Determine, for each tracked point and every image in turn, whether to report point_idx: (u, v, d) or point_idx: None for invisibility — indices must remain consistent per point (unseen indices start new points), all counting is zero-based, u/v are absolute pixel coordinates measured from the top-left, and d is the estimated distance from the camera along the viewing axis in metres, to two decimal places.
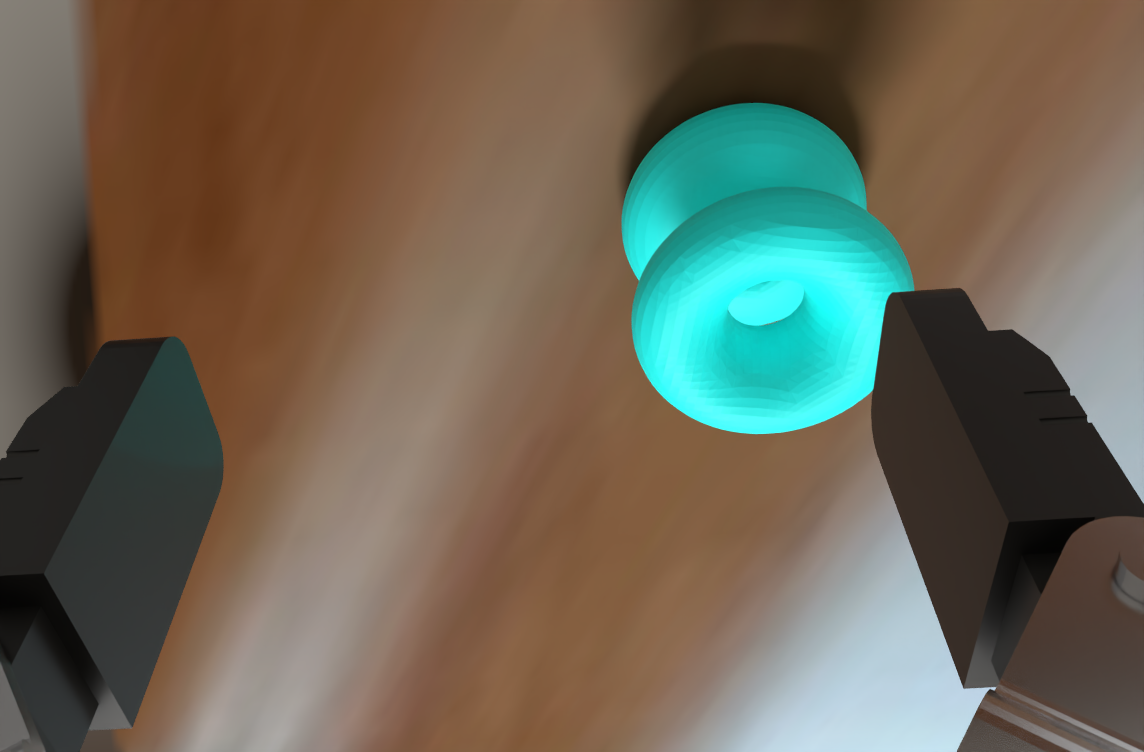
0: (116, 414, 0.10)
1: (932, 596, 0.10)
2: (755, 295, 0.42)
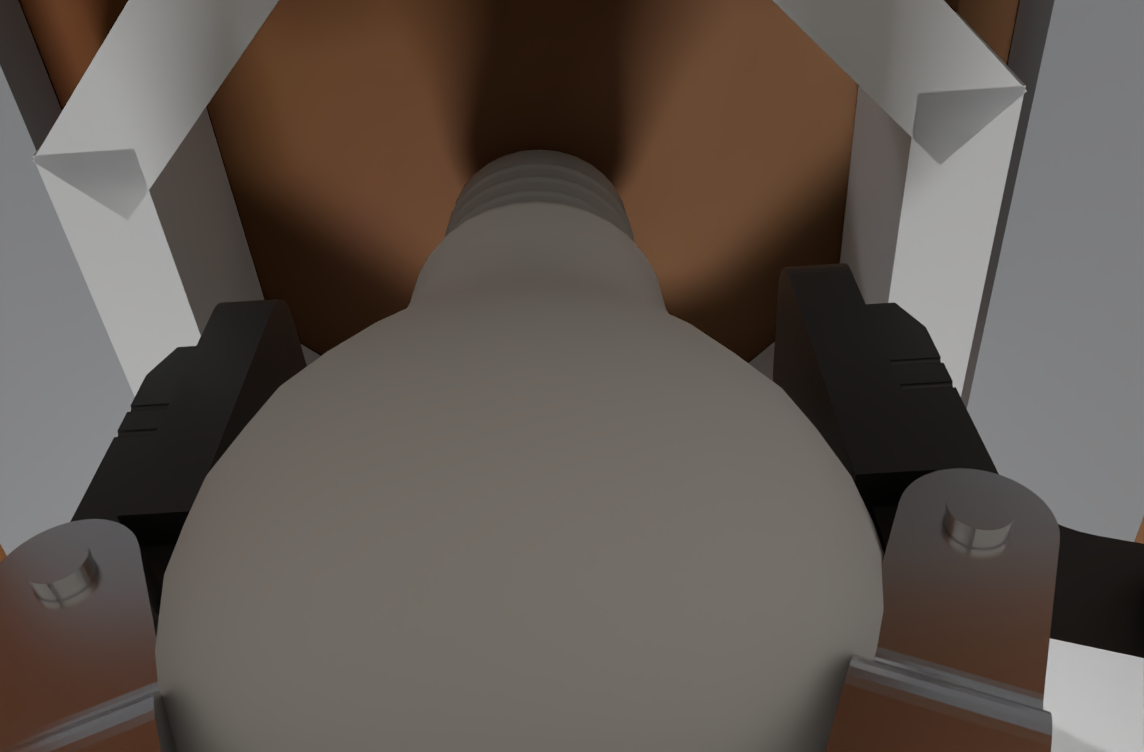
0: (239, 369, 0.11)
1: None
2: None
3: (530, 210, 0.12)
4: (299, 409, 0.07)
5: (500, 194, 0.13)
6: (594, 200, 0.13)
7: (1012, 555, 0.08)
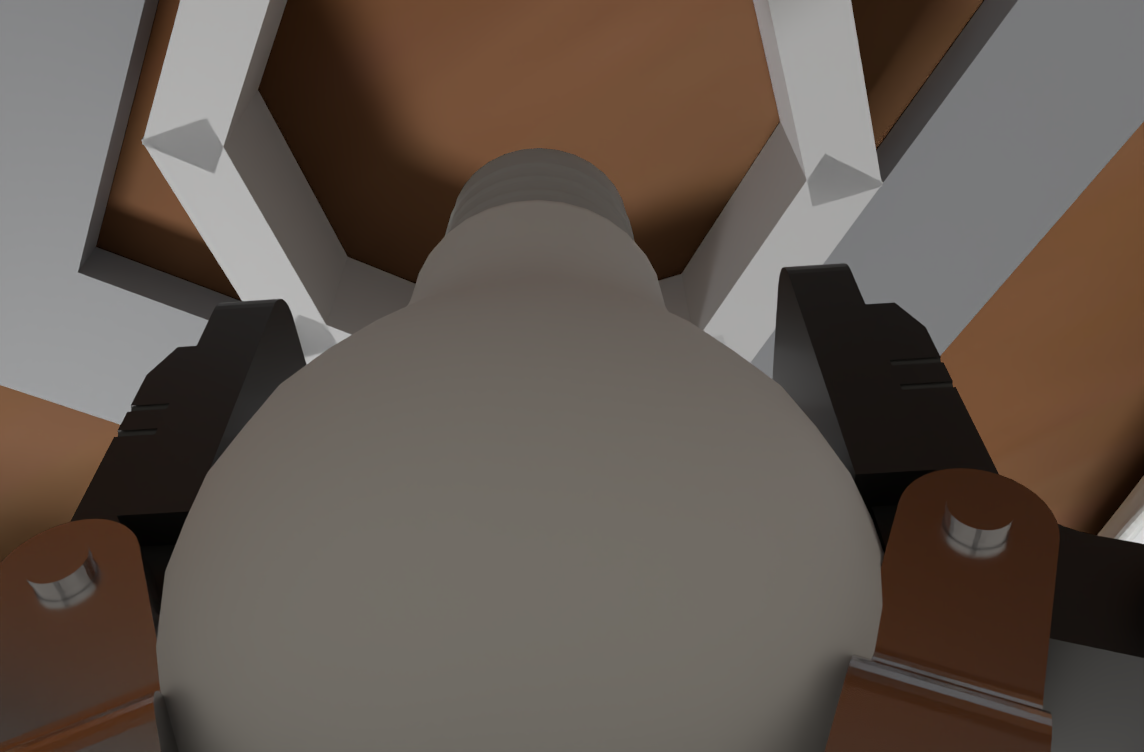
0: (239, 368, 0.11)
1: None
2: None
3: (530, 209, 0.12)
4: (300, 406, 0.07)
5: (500, 193, 0.13)
6: (594, 198, 0.13)
7: (1012, 555, 0.08)
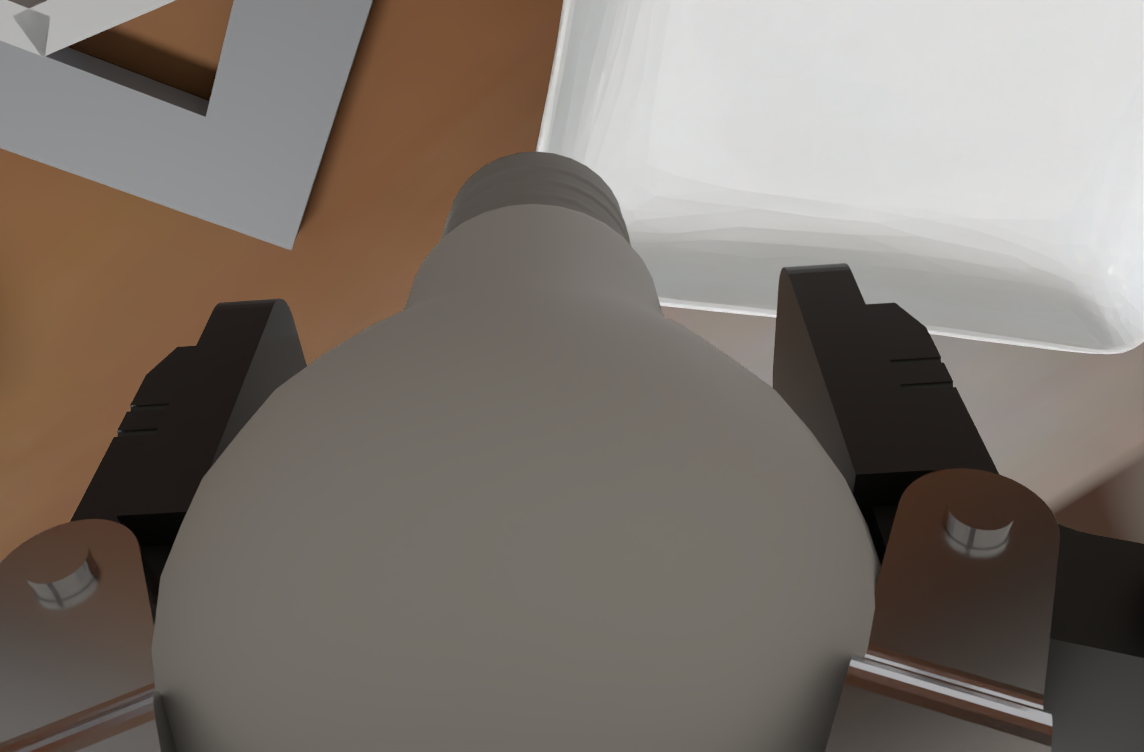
0: (239, 368, 0.11)
1: None
2: None
3: (526, 212, 0.12)
4: (295, 413, 0.07)
5: (496, 196, 0.13)
6: (590, 202, 0.13)
7: (1013, 555, 0.08)
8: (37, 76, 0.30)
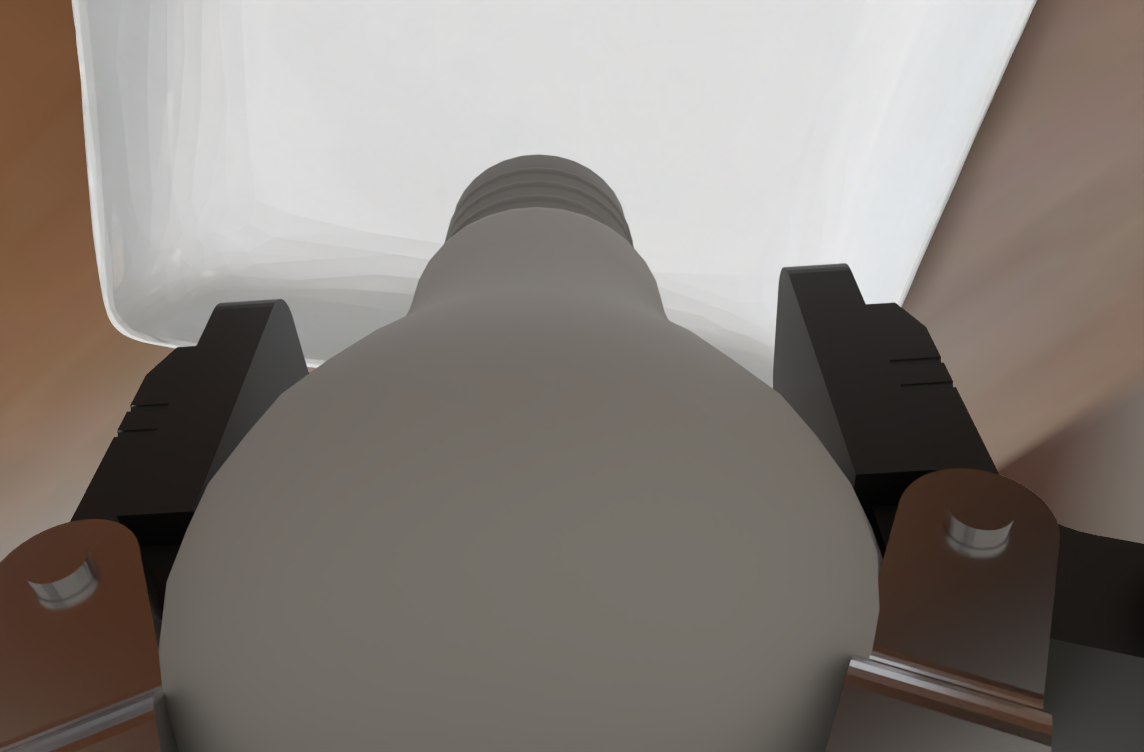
0: (239, 368, 0.11)
1: None
2: None
3: (530, 216, 0.12)
4: (302, 417, 0.07)
5: (500, 199, 0.13)
6: (594, 204, 0.13)
7: (1012, 555, 0.08)
8: None
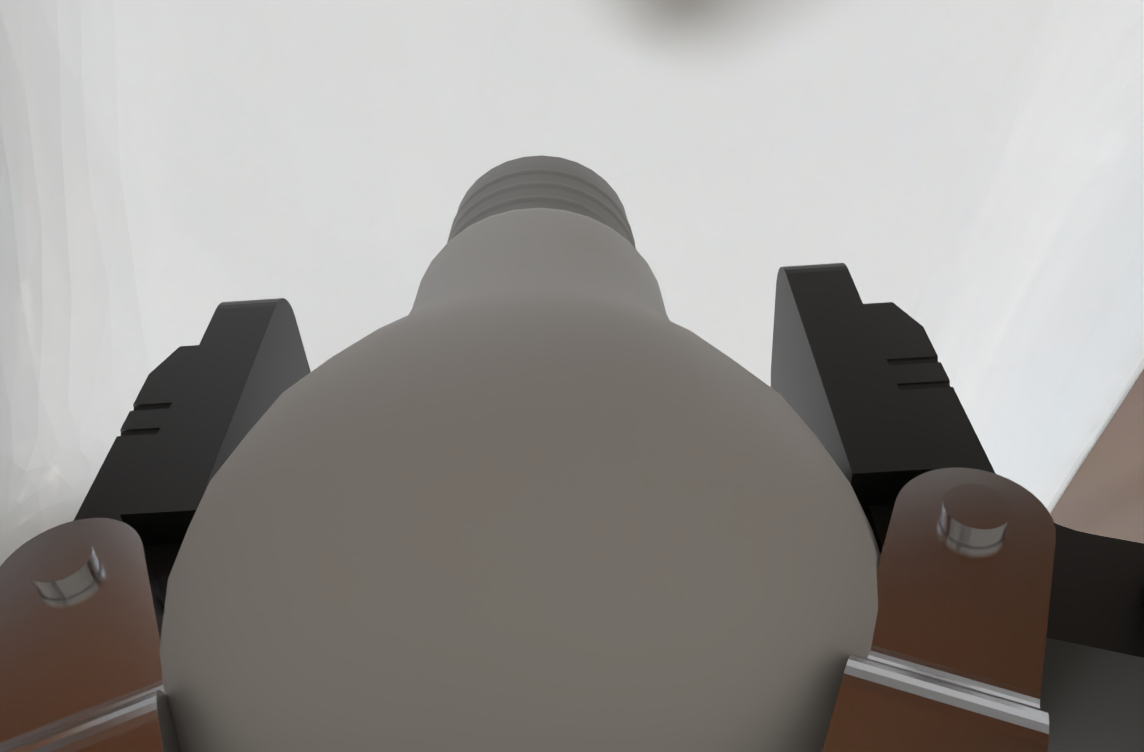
0: (242, 367, 0.11)
1: None
2: None
3: (532, 216, 0.12)
4: (303, 416, 0.07)
5: (502, 200, 0.13)
6: (595, 206, 0.13)
7: (1008, 554, 0.08)
8: None
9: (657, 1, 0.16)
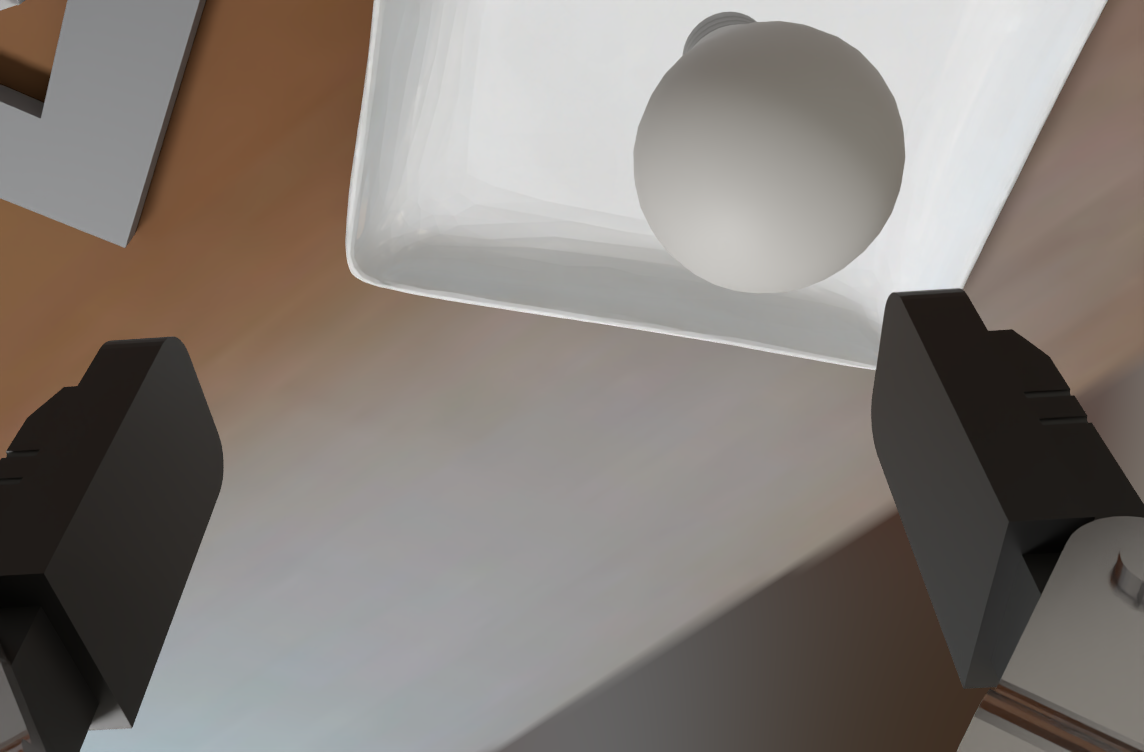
0: (116, 414, 0.10)
1: (932, 596, 0.10)
2: None
3: None
4: (709, 46, 0.22)
5: (720, 25, 0.28)
6: None
7: None
8: None
9: None
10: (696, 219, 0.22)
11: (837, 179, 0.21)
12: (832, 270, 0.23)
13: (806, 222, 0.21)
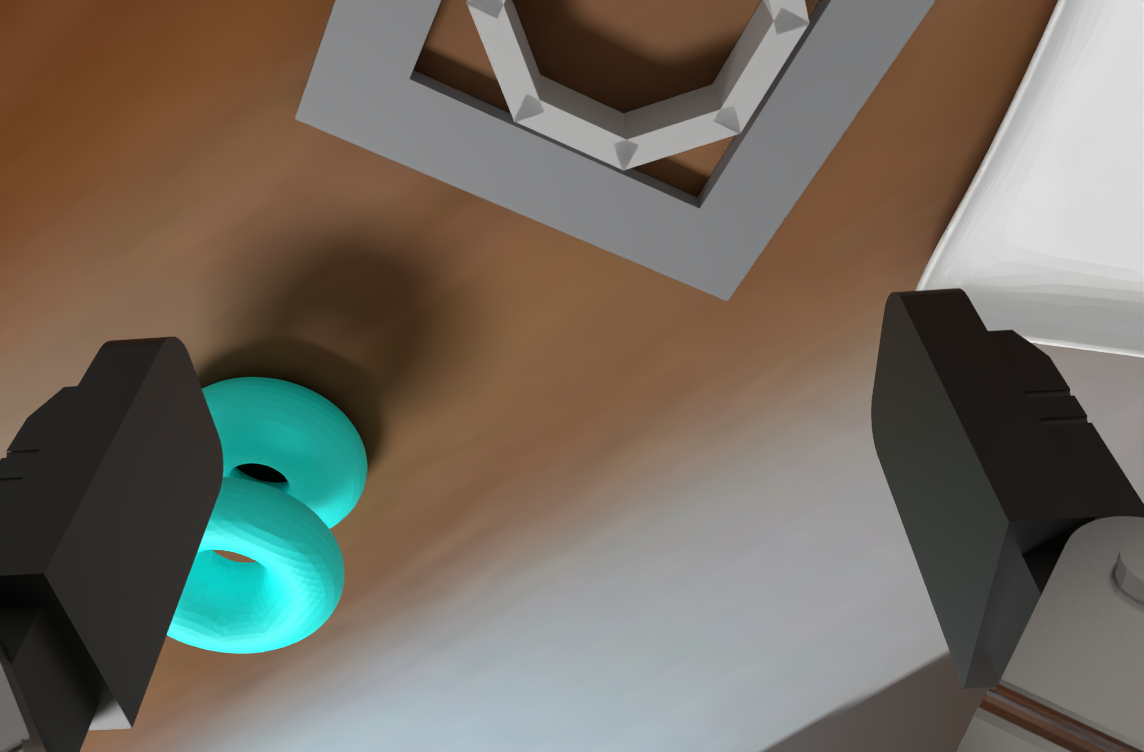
0: (116, 414, 0.10)
1: (932, 596, 0.10)
2: None
3: None
4: None
5: None
6: None
7: None
8: (592, 178, 0.42)
9: None
10: None
11: None
12: None
13: None
